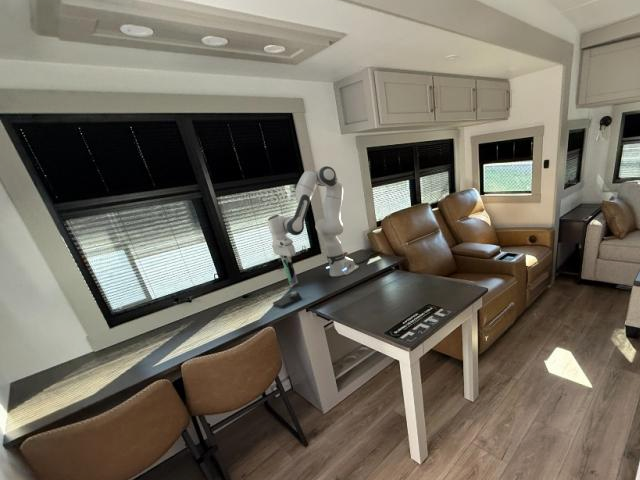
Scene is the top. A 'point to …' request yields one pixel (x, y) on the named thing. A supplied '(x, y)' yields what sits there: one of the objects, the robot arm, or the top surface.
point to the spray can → (289, 271)
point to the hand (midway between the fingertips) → (287, 261)
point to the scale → (287, 301)
